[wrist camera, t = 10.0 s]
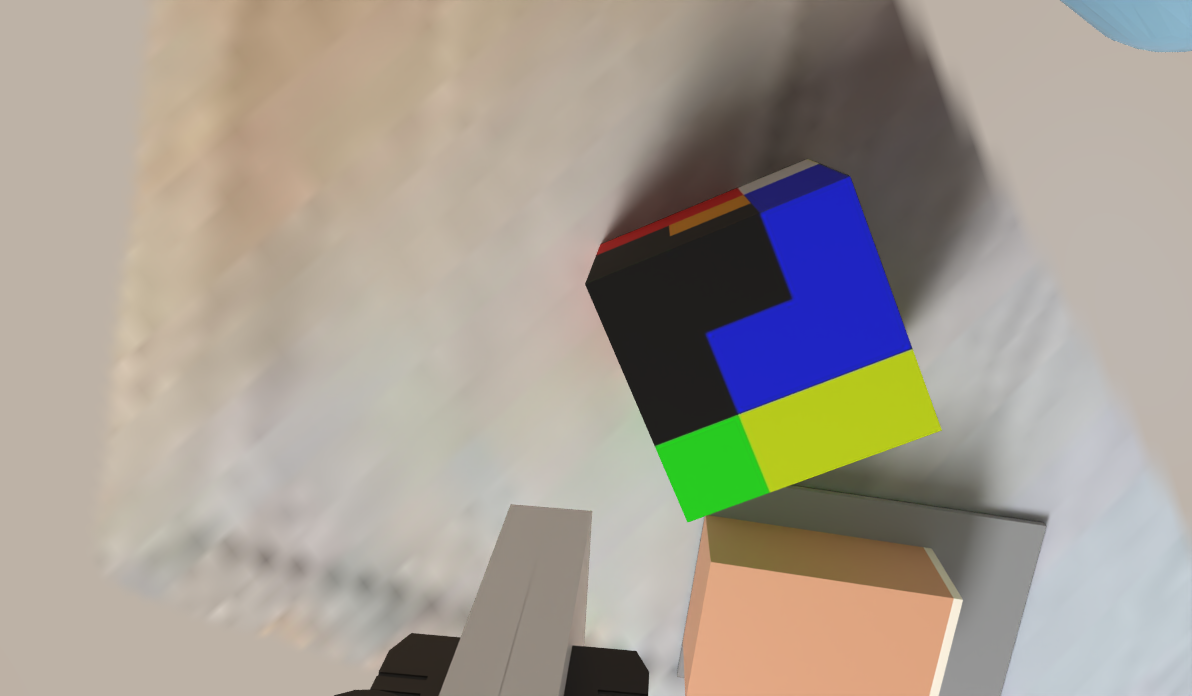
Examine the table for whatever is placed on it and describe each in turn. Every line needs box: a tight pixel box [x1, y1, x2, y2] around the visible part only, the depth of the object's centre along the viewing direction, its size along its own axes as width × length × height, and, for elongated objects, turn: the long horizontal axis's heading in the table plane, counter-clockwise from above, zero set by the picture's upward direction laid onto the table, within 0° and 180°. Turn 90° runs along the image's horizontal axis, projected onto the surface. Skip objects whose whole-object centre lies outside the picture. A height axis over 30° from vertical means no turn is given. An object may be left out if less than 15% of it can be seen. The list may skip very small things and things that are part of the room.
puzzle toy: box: [585, 159, 942, 522], centre depth 41 cm, size 10×10×10 cm
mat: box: [677, 485, 1046, 696], centre depth 48 cm, size 11×16×1 cm
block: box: [683, 515, 963, 696], centre depth 46 cm, size 7×5×11 cm
